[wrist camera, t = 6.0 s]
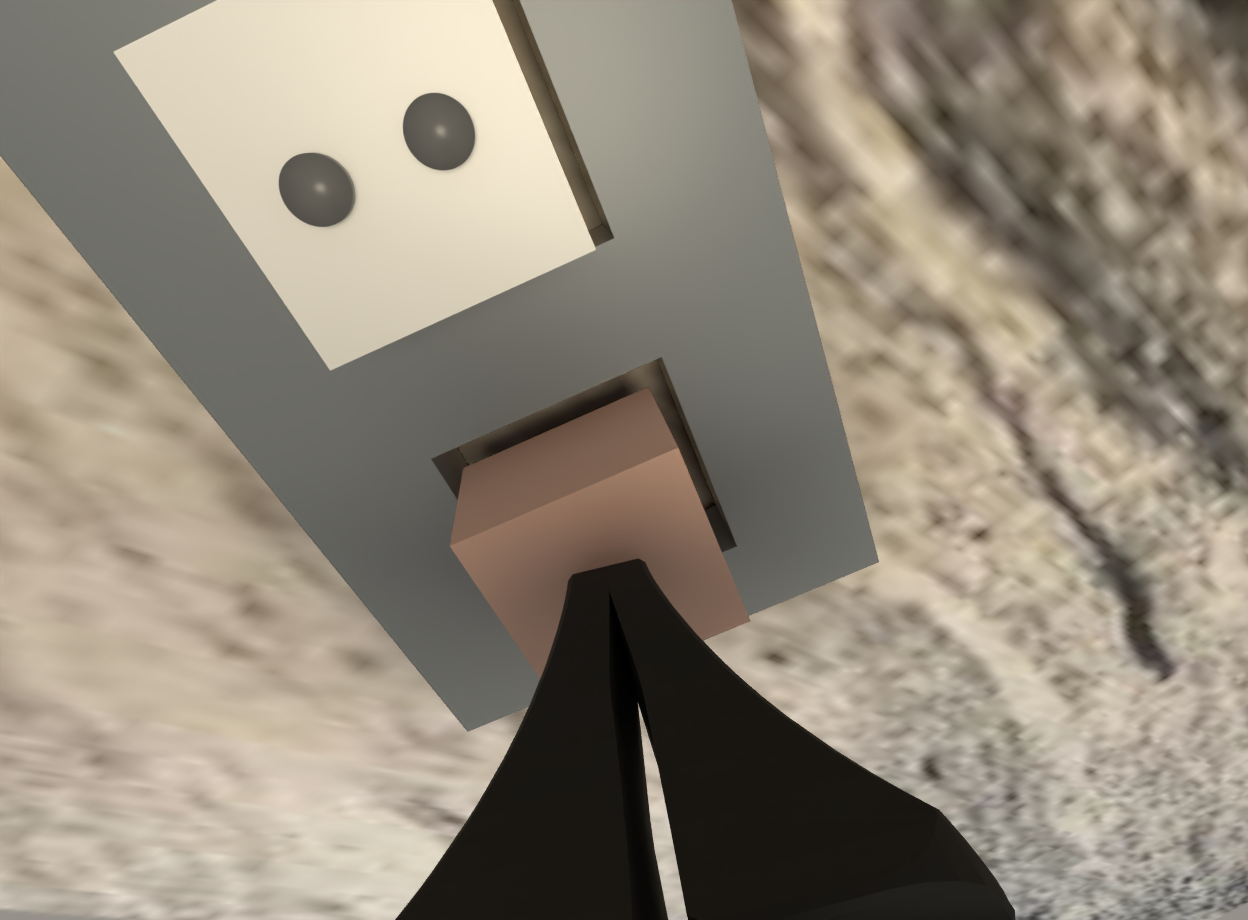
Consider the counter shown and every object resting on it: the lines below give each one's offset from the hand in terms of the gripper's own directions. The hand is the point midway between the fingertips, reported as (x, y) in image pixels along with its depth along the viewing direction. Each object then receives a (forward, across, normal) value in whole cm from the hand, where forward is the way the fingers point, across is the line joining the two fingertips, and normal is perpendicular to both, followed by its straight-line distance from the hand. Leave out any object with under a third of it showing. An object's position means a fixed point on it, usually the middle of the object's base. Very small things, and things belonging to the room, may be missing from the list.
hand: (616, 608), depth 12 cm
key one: (+4, 0, 0) cm, 4 cm away
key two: (+4, +2, -8) cm, 9 cm away
